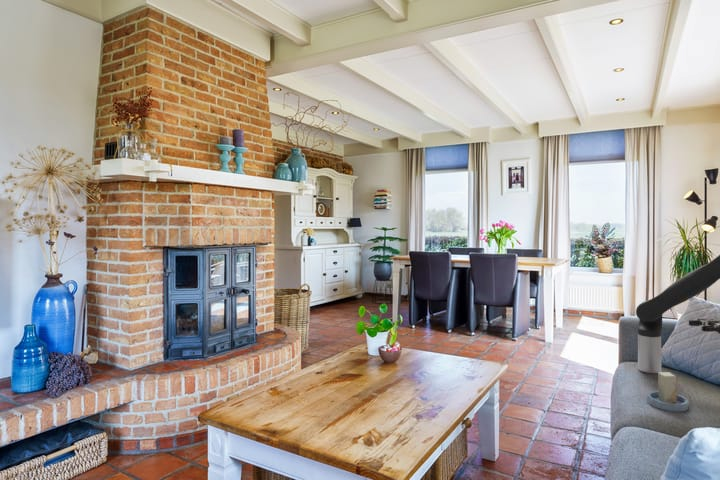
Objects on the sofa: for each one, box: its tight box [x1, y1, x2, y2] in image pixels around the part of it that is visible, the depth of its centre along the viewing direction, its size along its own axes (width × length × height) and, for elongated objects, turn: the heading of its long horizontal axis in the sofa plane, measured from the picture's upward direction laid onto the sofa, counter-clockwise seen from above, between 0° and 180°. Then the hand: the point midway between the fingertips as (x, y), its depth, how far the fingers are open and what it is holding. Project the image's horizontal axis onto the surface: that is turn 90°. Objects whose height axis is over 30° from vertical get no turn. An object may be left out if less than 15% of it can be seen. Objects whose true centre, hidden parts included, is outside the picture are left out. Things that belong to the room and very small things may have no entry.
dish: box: [646, 390, 689, 412], centre depth 170 cm, size 13×13×2 cm
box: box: [657, 371, 677, 404], centre depth 170 cm, size 5×4×11 cm
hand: (695, 325), depth 176 cm, fingers open, 8 cm apart
